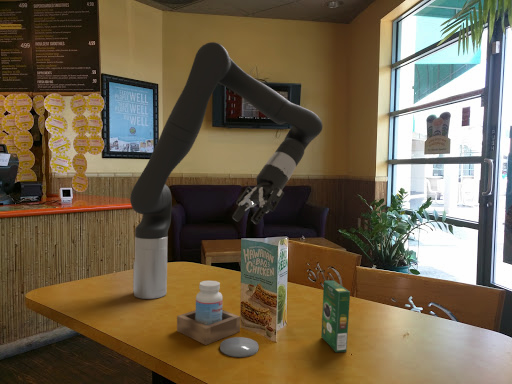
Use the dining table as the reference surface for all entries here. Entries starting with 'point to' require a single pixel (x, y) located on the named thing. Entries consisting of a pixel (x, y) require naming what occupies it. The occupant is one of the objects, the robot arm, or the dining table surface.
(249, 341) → the coaster
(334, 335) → the coffee box
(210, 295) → the pill bottle
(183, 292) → the dining table surface
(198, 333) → the square open box
